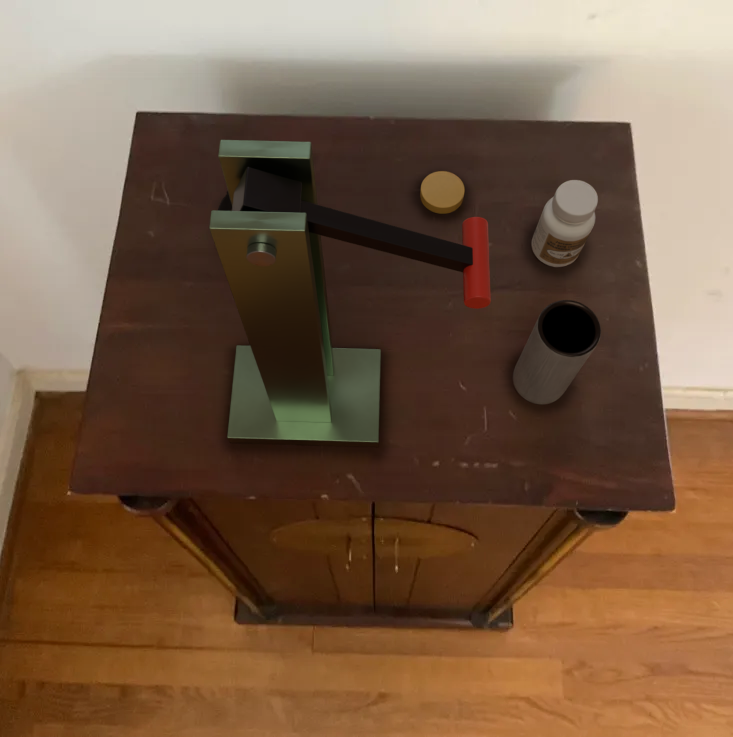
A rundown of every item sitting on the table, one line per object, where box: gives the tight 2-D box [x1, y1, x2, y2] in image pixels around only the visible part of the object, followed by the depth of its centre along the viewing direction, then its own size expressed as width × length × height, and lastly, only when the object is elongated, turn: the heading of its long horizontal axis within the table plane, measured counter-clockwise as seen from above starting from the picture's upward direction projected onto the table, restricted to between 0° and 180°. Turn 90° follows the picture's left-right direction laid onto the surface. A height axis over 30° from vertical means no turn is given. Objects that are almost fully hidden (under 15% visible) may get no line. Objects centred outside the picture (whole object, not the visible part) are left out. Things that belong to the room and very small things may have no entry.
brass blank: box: [419, 170, 465, 215], centre depth 71 cm, size 4×4×1 cm
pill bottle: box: [531, 179, 599, 268], centre depth 65 cm, size 4×4×8 cm
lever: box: [231, 167, 492, 309], centre depth 40 cm, size 14×5×2 cm, turn 88°
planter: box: [512, 299, 602, 405], centre depth 59 cm, size 4×4×10 cm
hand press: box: [208, 139, 382, 448], centre depth 50 cm, size 12×8×30 cm, turn 88°
